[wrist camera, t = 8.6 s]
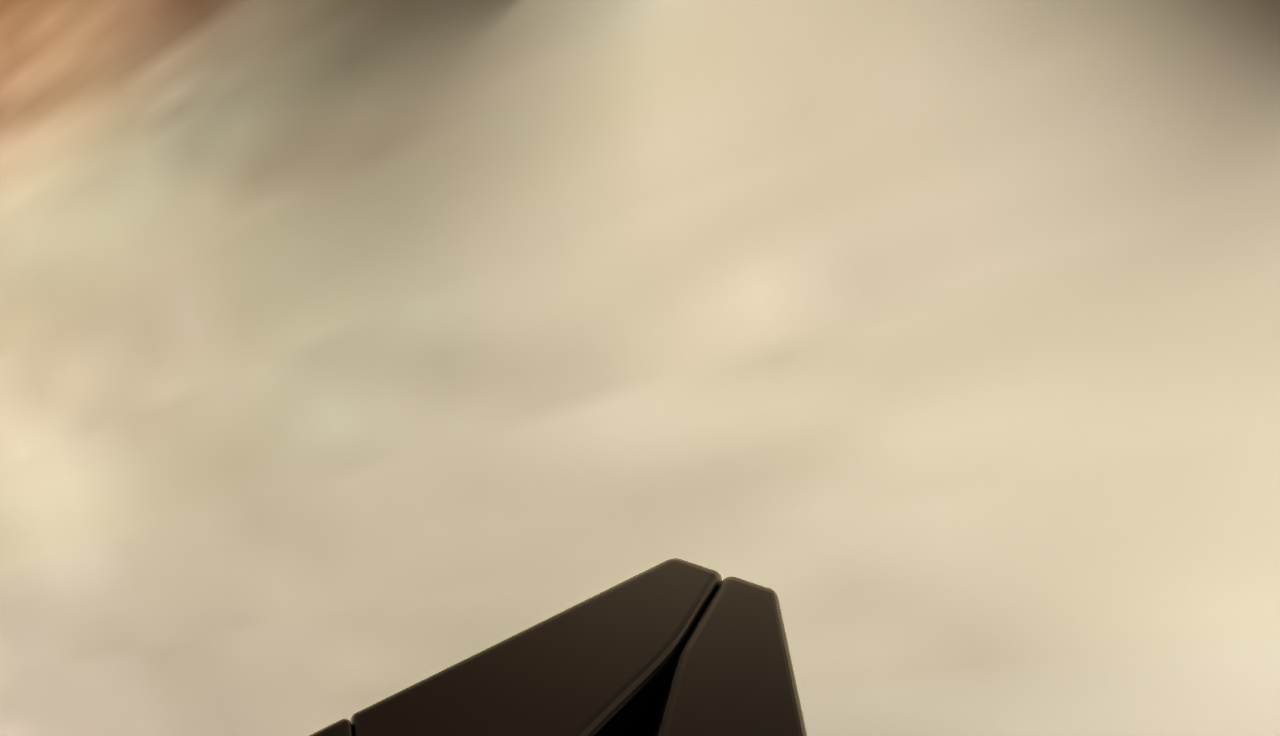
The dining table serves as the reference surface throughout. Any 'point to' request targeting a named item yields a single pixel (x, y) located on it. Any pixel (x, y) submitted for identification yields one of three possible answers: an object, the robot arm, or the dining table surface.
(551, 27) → the dining table surface
